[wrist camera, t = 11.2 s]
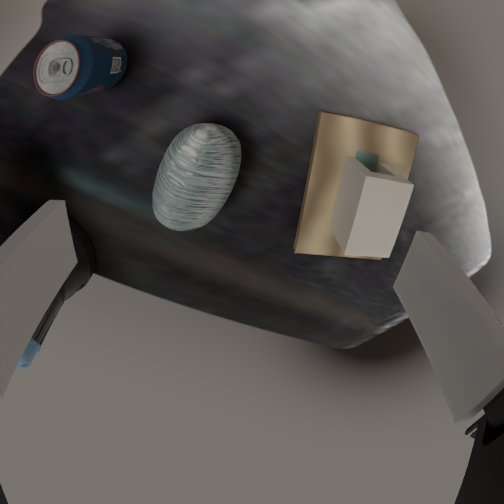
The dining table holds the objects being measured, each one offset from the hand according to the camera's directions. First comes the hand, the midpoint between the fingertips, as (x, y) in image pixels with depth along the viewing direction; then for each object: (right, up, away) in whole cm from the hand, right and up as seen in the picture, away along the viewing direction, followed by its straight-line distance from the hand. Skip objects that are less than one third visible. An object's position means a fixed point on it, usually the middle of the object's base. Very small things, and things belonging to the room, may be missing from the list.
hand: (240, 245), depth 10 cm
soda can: (-18, +23, +19) cm, 35 cm away
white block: (+15, +7, +28) cm, 32 cm away
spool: (-6, +11, +27) cm, 30 cm away
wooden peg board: (+14, +8, +29) cm, 33 cm away
